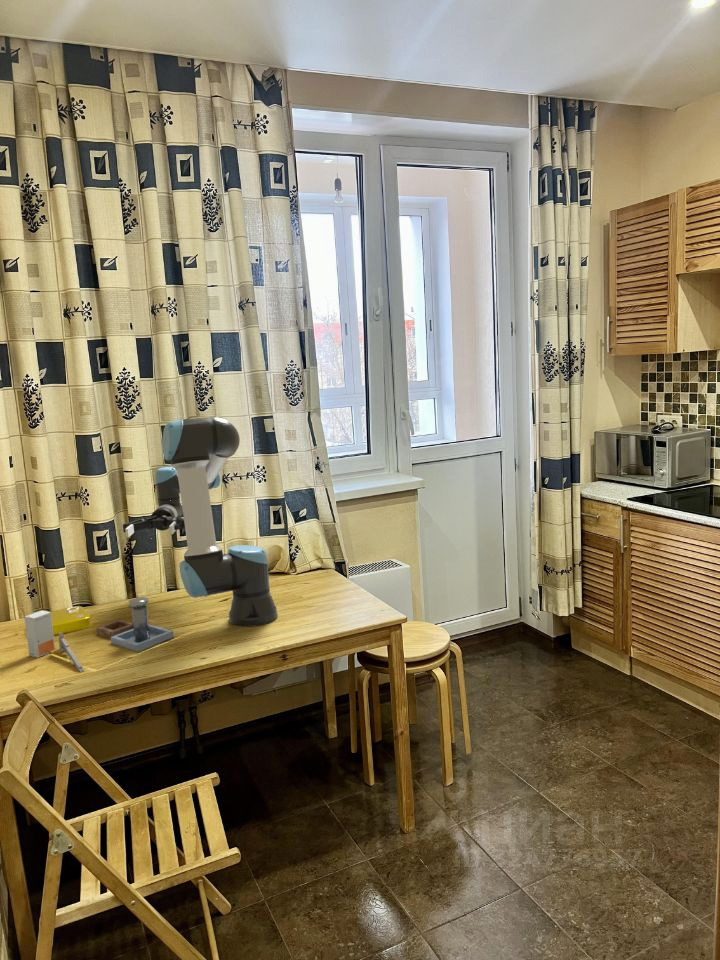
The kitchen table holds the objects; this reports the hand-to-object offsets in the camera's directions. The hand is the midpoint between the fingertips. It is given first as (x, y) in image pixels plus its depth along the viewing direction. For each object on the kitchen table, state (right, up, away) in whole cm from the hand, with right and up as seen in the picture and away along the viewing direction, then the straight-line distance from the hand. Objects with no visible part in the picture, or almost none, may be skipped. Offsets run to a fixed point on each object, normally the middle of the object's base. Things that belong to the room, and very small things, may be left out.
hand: (148, 531), depth 231 cm
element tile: (-29, -32, +6) cm, 43 cm away
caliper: (-16, -35, -22) cm, 44 cm away
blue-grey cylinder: (+1, -31, -10) cm, 33 cm away
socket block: (-9, -31, -2) cm, 33 cm away
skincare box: (-27, -35, -15) cm, 46 cm away
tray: (+1, -32, -10) cm, 34 cm away
